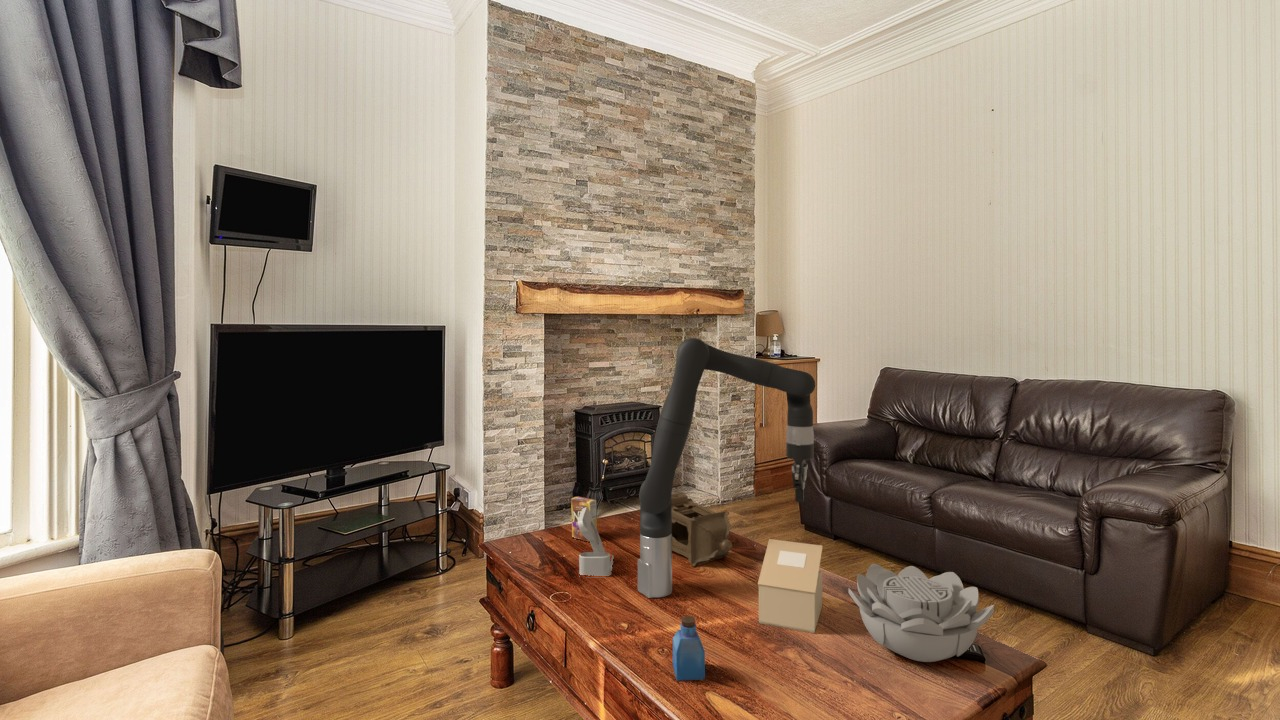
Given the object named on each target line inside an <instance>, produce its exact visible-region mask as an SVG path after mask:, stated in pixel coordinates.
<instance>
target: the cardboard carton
mask: <svg viewBox="0 0 1280 720" xmlns="http://www.w3.org/2000/svg"><path fill="white" fill-rule="evenodd" d="M822 608H823V570H821V569H819V574H818V581H817V587H816V594H811V593H804V592H798V591H792V590H785V589H779V588H772V587H766V586H760V585H758V624H760V625H763V626H764V625H765V626H770V627H775V628H782V629H788V630H793V631H797V632H798V631H799V632H803V631H804V633H808V632H809V634H815V633H816V630H817V627H816V626H818V623H819V620H820V619H819V618H820V615H821V612H822Z"/></svg>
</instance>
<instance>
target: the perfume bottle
mask: <svg viewBox="0 0 1280 720" xmlns="http://www.w3.org/2000/svg"><path fill="white" fill-rule="evenodd" d="M680 621H681V622H680V624H679V625H680V629H679V630H678V629H677V631H676V633H675V634H674V635H673V638H672V667H673V670H674V671H673V672H674V675H675V679H676V681H694V680H695V681H697V680H705V679H706V667H705V663H706V657H705V656H706V652H705V649H704V645H703V643H702V640H701V637H700V635H699V633H698V631H697V625H696V618H695V617H694V616H689V615H684V616H683V617H681V618H680Z"/></svg>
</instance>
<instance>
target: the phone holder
mask: <svg viewBox="0 0 1280 720" xmlns="http://www.w3.org/2000/svg"><path fill="white" fill-rule="evenodd" d="M578 526H579V529H580V532H581V534H582V535H583V536H584V537H585V538H587V539H588V540H589V541H590V543H589V544H590V545H591V546H590V547H591V548H592V551H590V552H589V551H585V552H582V553H580V554H579V555H578V561H579V563H578V565H579V566H578V567H579V568H578V569H579V571H578V573H579V574H580V575H588V576H590V575H592V576H593V575H594V576H609V575H611V576H612V572H611V571H613V567H612V565H613V566H614V561H613V559H614V560H615V556H614V555H613V554H611V553H609V552H606V550H605V547H604V545H603V543H602V542H603V541H602V539H601V537H600V534H599V531H598V528H597V529H596V526H595V524H594V521H593V518H592V516H591V513H590V511H589V509H588V507H585V508H583V509H582V511H581V513H580V516H579V518H578ZM610 556H612V558H611V561H610ZM579 574H578V575H579Z"/></svg>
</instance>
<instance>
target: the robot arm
mask: <svg viewBox="0 0 1280 720" xmlns="http://www.w3.org/2000/svg"><path fill="white" fill-rule="evenodd" d="M675 358H676V360H675V365H674V366H675V367H674V373H673V379H672V381H671V386H670V387H669V391H668V393H667V395H666V397H665V400H664V403H663V405H662V407H661V408H662V409H661V410H660V414H659V418H658V422H657V425H656V429H655V434H654V439H653V440H654V441H653V446H652V454H651V461H650V465H649V469H648V471H647V474H646V477H645V480H644V481H643V482H642V483H641V486H640V487H639V488H640V489H639V493H638V494H639V495H638V500H639V504H640V505H639V506H640V508H639V511H640V515H639V554H640V555H639V556H640V557H639V558H637V591H638V592H639V593H640V594H642V595H644V596H645V597H646V598H647V599H651V598H664V597H667V596H670V595H671V594H672V592H673V556H672V555H673V554H672V553H673V551H672V502H671V494H673V487H674V485H673V484H674V479H675V475H676V471H677V468H678V464H679V462H680V459H681V457H682V455H683V451H684V449H685V446H686V443H687V440H688V437H689V432H690V429H691V426H692V422H693V417H694V412H695V406H696V398H697V392H698V388H699V385H700V382H701V379H702V376H703V375H704V371H705V370H706V371H713V372H717V373H722V374H724V375H725V374H726V375H728V376H730V377H734V378H737V379H739V380H742V381H745V382H749V383H752V384H754V385H758V386H762V387H765V388H771V389H774V390H775V389H776V390H778V391H781V392H784V393H785V394H786V401H787V402H786V404H787V420H786V421H787V422H786V423H787V427H786V432H785V433H786V434H785V435H786V438H785V440H786V441H785V442H786V445H785V447H786V449H785V451H786V452H785V456H786V457H787V458H788V459H791V460H793V461H794V462H793V464H791V471H792V473H791V478H792V487H793V488H794V489H795V492H794V494H795V495H794V496H795V498H794V499H795V502H796V503H804V501H805V496H804V495H805V488H806V484H807V482H806V480H807V477H808V475H807V474H808V473H807V472H808V471H807V470H808V468H809V467H808V463H806V461H809V460H812V459H814V451H815V449H814V447H815V446H814V443H815V441H814V440H815V437H814V435H815V432H814V411H813V407H812V405H811V394H812V393H813V392H814V391H815V389H816V381H815V379H814V377H813V375H812V374H810V373H809V372H806V371H803V370H798V369H794V368H789V367H784V366H781V365H779V364H777V363H773V362H770V361H766V360H763V359H760V358H759V359H758V358H755V357H750V356H746V355H741V354H735V353H731V352H728V351H724V350H723V349H720V348H717V347H715V346H712V345H710V344H708V343H706V342H704V341H703V340H702V339H699V338H698V337H697V338H696V337H689V338H686V339H684V340H683V341H681V343H680V344H679V346H678V347H677V350H676V357H675Z"/></svg>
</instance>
